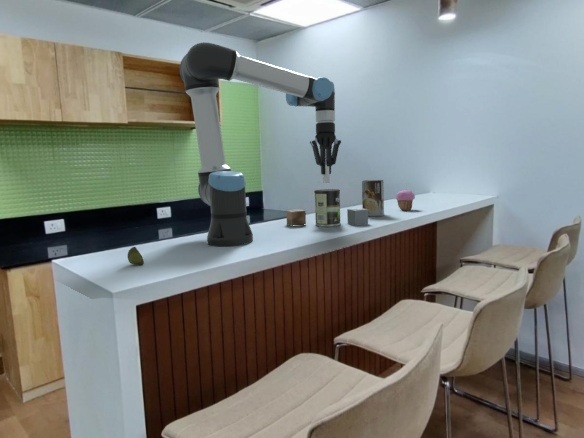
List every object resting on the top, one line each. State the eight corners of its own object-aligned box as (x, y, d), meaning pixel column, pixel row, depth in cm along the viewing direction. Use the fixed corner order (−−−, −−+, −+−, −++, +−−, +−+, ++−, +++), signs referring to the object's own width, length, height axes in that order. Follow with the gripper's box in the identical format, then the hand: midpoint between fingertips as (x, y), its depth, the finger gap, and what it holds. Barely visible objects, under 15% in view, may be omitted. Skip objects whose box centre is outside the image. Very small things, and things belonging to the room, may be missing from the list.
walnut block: (292, 226, 168) (291, 211, 167) (286, 224, 174) (286, 210, 173) (305, 225, 171) (305, 210, 170) (300, 223, 176) (299, 208, 175)
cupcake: (418, 209, 206) (418, 189, 205) (406, 211, 201) (406, 190, 200) (404, 208, 214) (404, 188, 212) (392, 210, 209) (392, 190, 207)
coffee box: (384, 214, 194) (384, 179, 192) (382, 216, 188) (381, 180, 186) (364, 214, 197) (364, 180, 195) (361, 216, 191) (361, 180, 189)
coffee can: (341, 222, 174) (340, 188, 172) (339, 226, 164) (338, 190, 162) (317, 222, 176) (316, 189, 174) (313, 226, 166) (312, 191, 164)
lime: (134, 262, 115) (133, 244, 114) (149, 263, 114) (148, 245, 113) (123, 266, 111) (122, 248, 110) (139, 267, 110) (137, 248, 109)
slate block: (355, 225, 165) (354, 210, 164) (347, 223, 171) (347, 208, 170) (368, 224, 168) (367, 208, 167) (360, 222, 173) (360, 207, 172)
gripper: (335, 123, 170) (336, 181, 173) (306, 123, 165) (307, 183, 168) (344, 121, 163) (345, 182, 166) (314, 121, 158) (315, 183, 161)
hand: (326, 182), depth 167 cm, fingers closed
